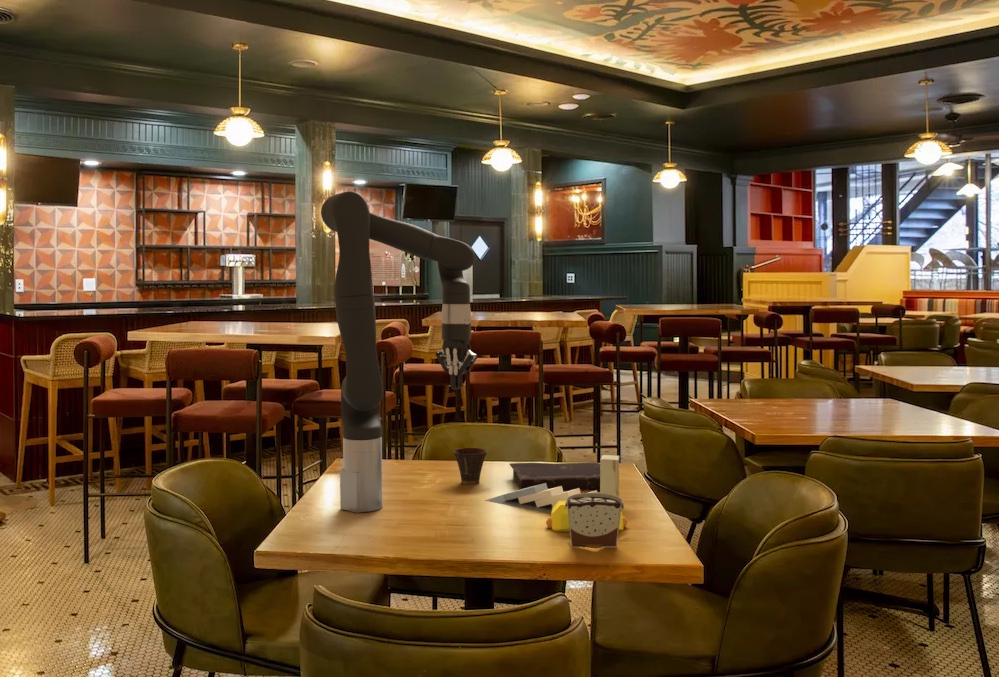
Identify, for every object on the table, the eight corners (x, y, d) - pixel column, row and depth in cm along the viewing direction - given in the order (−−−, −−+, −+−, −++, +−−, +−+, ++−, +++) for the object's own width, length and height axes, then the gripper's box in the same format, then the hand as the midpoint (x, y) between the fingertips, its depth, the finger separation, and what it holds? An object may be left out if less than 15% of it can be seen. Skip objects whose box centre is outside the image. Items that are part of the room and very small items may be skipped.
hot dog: (630, 535, 182) (624, 525, 190) (630, 505, 182) (624, 496, 189) (547, 536, 182) (544, 526, 189) (547, 505, 181) (544, 496, 189)
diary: (615, 494, 220) (615, 475, 220) (520, 498, 216) (520, 478, 216) (595, 477, 239) (596, 459, 238) (508, 480, 235) (508, 462, 234)
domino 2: (519, 504, 205) (551, 496, 199) (518, 497, 205) (549, 489, 199) (532, 500, 209) (563, 492, 203) (530, 493, 209) (561, 485, 203)
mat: (569, 520, 193) (569, 517, 193) (485, 502, 208) (485, 500, 208) (592, 511, 201) (592, 508, 201) (509, 494, 216) (509, 492, 216)
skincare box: (617, 510, 201) (618, 460, 201) (599, 509, 202) (599, 459, 201) (619, 504, 208) (619, 454, 207) (601, 503, 208) (602, 454, 208)
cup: (496, 484, 225) (491, 447, 224) (465, 491, 222) (459, 454, 221) (484, 478, 233) (479, 443, 232) (454, 485, 230) (449, 449, 229)
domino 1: (504, 500, 208) (535, 493, 202) (503, 494, 208) (534, 486, 202) (517, 497, 212) (547, 489, 206) (515, 490, 212) (546, 482, 206)
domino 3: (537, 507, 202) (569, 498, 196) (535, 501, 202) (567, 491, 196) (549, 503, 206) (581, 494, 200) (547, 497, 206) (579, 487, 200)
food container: (618, 538, 180) (619, 491, 179) (624, 547, 173) (624, 499, 173) (561, 538, 179) (561, 492, 179) (564, 547, 173) (564, 499, 172)
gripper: (427, 321, 217) (427, 388, 218) (466, 323, 208) (466, 392, 210) (446, 320, 222) (446, 385, 224) (485, 322, 214) (485, 389, 215)
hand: (456, 389), depth 217 cm, fingers closed
